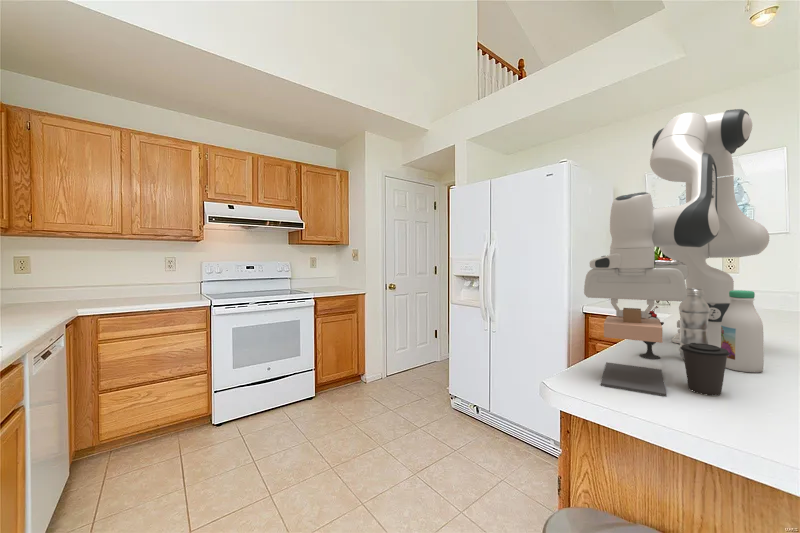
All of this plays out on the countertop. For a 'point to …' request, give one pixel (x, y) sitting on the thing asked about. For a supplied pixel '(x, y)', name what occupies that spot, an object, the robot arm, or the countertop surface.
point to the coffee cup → (705, 367)
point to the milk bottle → (743, 333)
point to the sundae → (649, 352)
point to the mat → (634, 379)
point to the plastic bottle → (694, 318)
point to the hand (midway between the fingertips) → (632, 318)
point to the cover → (633, 327)
